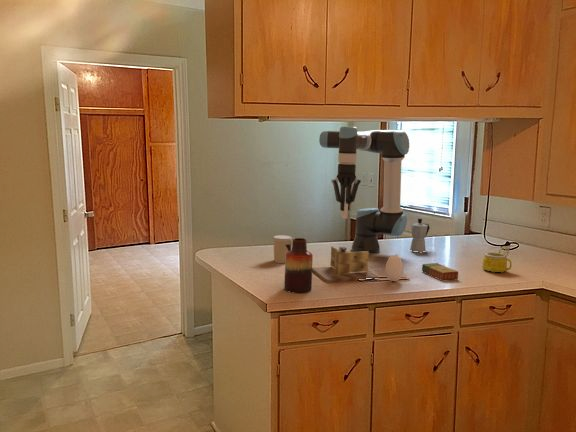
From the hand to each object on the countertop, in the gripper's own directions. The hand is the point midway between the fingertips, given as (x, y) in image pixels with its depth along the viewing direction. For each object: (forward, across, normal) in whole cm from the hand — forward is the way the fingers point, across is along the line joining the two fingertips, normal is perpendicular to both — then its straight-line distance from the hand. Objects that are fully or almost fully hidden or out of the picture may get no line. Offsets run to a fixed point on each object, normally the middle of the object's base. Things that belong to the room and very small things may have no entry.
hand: (344, 218), depth 220 cm
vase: (+26, +25, +14) cm, 39 cm away
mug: (+27, -76, +7) cm, 81 cm away
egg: (+26, -18, +12) cm, 34 cm away
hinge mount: (+26, -2, -2) cm, 26 cm away
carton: (+27, -44, +8) cm, 52 cm away
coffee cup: (+26, +18, -31) cm, 44 cm away
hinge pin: (+24, 0, 0) cm, 24 cm away
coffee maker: (+27, -63, -39) cm, 78 cm away
